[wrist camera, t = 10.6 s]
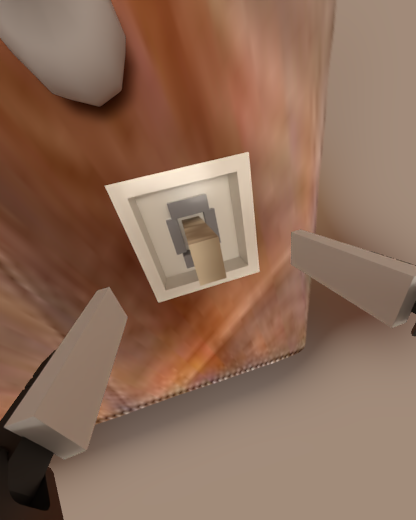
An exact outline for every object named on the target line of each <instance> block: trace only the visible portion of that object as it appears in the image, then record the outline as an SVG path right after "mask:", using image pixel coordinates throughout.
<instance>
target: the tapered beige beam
mask: <svg viewBox="0 0 416 520" xmlns="http://www.w3.org/2000/svg"><path fill="white" fill-rule="evenodd" d="M181 221H182V224H183V228H184V231H185V235H186V238H187V242H188V245H189V249H190V252H191V256H192V259H193V262H194V266H195V269H196V273H197V276H198V279H199V283H200V286H202V285H205V284H208V283H211V282H215V281H218V280H221V279H224V278H227V277H226V272H225V267H224V262H223V257H222V252H221V247H220V242H219V237H218V236H217V235H216V234H215V232H214V231H213V230H212V229H211V228H210V227H209V226H208V225H207V224H206V223H205V222H204V221H203V220H202V219H201V218H200V217H199V216H196V217H192V218H188V219H184V220H181Z"/></svg>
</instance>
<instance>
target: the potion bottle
mask: <svg viewBox="0 0 416 520" xmlns="http://www.w3.org/2000/svg"><path fill="white" fill-rule="evenodd" d="M0 38H1V39H2V41H3V42H4V43H5V44H6V46H7V47H8V48H9V49H10V51H11V52H12V53H13V54H14V55H15V56H16V57H17V58H18V59H19V60H20V61H21V62H22V63H23V64H24V65H25V66H26V67H27V68H28V69H29V70H30V71H31V72H32V73H33V74H34V75H35V76H36V77H37V78H38V79H39V80H40V81H41V82H42V83H43V84H44V85H45V86H46V87H47V88H48V89H49V90H50V91H51V92H52V93H53V94H55V95H58V96H61V97H64V98H66V99H70V100H74V101H78V102H82V103H86V104H90V105H94V106H98V107H100V106H102V105H104V104H105V103H106V102H108V101H109V100H110V99H112V98H113V97H114V96H116V95H117V94H118V93H120V91H121V90H122V83H123V73H124V64H125V55H126V37H125V34H124V32H123V29H122V27H121V24H120V22H119V20H118V17H117V15H116V12H115V10H114V7H113V5H112V2H111V0H0Z"/></svg>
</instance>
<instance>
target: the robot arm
mask: <svg viewBox="0 0 416 520" xmlns="http://www.w3.org/2000/svg"><path fill="white" fill-rule="evenodd" d="M291 265H292V266H294V267H296V268H297V269H299V270H300V271H302V272H304V273H305V274H307V275H308V276H310V277H312V278H313V279H315V280H317V281H318V282H320V283H321V284H323V285H324V286H326V287H328V288H329V289H331V290H332V291H334V292H336V293H337V294H339V295H340V296H342V297H344V298H345V299H347V300H348V301H350V302H352V303H353V304H355V305H356V306H358V307H359V308H361V309H363V310H364V311H366V312H367V313H369V314H371V315H372V316H374V317H375V318H377V319H379V320H380V321H382V322H383V323H385V324H387V325H388V326H390V327H391V328H393V327H395V326H398V325H400V324H403V323H405V322H407V319H408V317H409V315H410V313H411V312H413V313H415V314H416V265H413V264H410V263H407V262H404V261H401V260H397V259H394V258H391V257H388V256H384V255H382V254H378V253H375V252H372V251H367V250H364V249H361V248H358V247H355V246H352V245H348V244H345V243H342V242H339V241H335V240H332V239H329V238H326V237H323V236H320V235H317V234H314V233H310V232H307V231H304V230H301V229H300V230H297V231H294V232H291ZM127 318H128V317H127V315H126V313H125V312H124V310H123V309H122V307H121V305H120V304H119V302H118V300H117V299H116V297H115V295H114V294H113V292H112V290H111V289H110V287H107V288H104V289H101V290H97V292H96V293H95V294H94V296H93V297H92V299H91V300H90V302H89V303H88V305H87V306H86V308H85V309H84V310H83V312H82V313H81V315H80V316H79V318H78V319H77V321H76V322H75V324H74V325H73V327H72V328H71V329H70V331H69V332H68V334H67V335H66V337H65V338H64V340H63V341H62V343H61V344H60V346H59V347H58V348H57V350H55V351H54V352H53V353H52V354H51V355H50V356H49V357H48V358H47V359H46V360H45V361H44V362H43V363H42V364H41V365H40V367H39V368H38V369H37V371H36V372H35V373H34V375H33V378H31V379H30V380H29V382H28V383H27V385H26V386H25V389H24V390H22V392H21V393H20V394H19V396H18V397H17V399H16V400H15V401H14V403H13V404H12V406H11V407H10V408H9V410H8V411H7V413H6V414H5V415H4V417H3V418H2V420H1V421H0V520H64V519H63V515H62V510H61V506H60V501H59V497H58V492H57V487H56V483H55V478H54V473H53V471H52V470H51V468H49V467H48V465H49V463H50V461H51V458H52V456H53V454H55V455H57V456H59V457H61V458H63V459H67V458H69V457H71V456H74V455H77V454H79V453H81V452H84V451H86V450H87V448H88V445H89V442H90V438H91V435H92V432H93V429H94V425H95V422H96V419H97V416H98V412H99V409H100V406H101V403H102V399H103V396H104V393H105V390H106V386H107V383H108V380H109V377H110V373H111V370H112V367H113V364H114V361H115V357H116V354H117V351H118V348H119V344H120V341H121V338H122V335H123V331H124V328H125V325H126V322H127ZM411 334H412V336H416V323H415V325H414V327H413V329H412V331H411Z"/></svg>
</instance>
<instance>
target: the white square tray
mask: <svg viewBox="0 0 416 520" xmlns="http://www.w3.org/2000/svg"><path fill="white" fill-rule="evenodd" d="M105 188H106V190H107V192H108V194H109V196H110V198H111V201H112V203H113V205H114V207H115V209H116V212H117V214H118V216H119V218H120V220H121V222H122V225H123V227H124V229H125V231H126V233H127V235H128V238H129V240H130V242H131V244H132V246H133V248H134V251H135V253H136V255H137V257H138V259H139V262H140V264H141V266H142V268H143V270H144V272H145V275H146V277H147V279H148V281H149V283H150V285H151V288H152V290H153V292H154V294H155V296H156V299H157V301H158V303H159V302H162V301H166V300H169V299H172V298H175V297H179V296H182V295H185V294H188V293H192V292H195V291H198V290H201V289H205V288H208V287H211V286H214V285H218V284H221V283H224V282H228V281H231V280H234V279H237V278H241V277H244V276H247V275H250V274H254V273H257V272H259V261H258V250H257V239H256V227H255V216H254V205H253V194H252V183H251V172H250V161H249V152H246V153H242V154H237V155H233V156H229V157H225V158H221V159H216V160H212V161H208V162H204V163H199V164H195V165H191V166H187V167H182V168H178V169H174V170H170V171H165V172H161V173H157V174H153V175H148V176H144V177H140V178H136V179H132V180H127V181H123V182H119V183H115V184H110V185H106V186H105ZM196 216H199V217H200V218H201V219H202V220H203V221H204V222H205V223H206V224H207V225H208V226H209V227H210V228H211V229H212V230H213V231H214V232H215V234H216V235H217V236H218V237H219V242H220V247H221V252H222V257H223V262H224V267H225V272H226V277H227V278H224V279H221V280H218V281H215V282H211V283H208V284H205V285H202V286H200V283H199V279H198V276H197V273H196V269H195V266H194V262H193V259H192V256H191V252H190V249H189V245H188V242H187V238H186V235H185V231H184V228H183V224H182V221H181V220H184V219H188V218H192V217H196Z"/></svg>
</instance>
